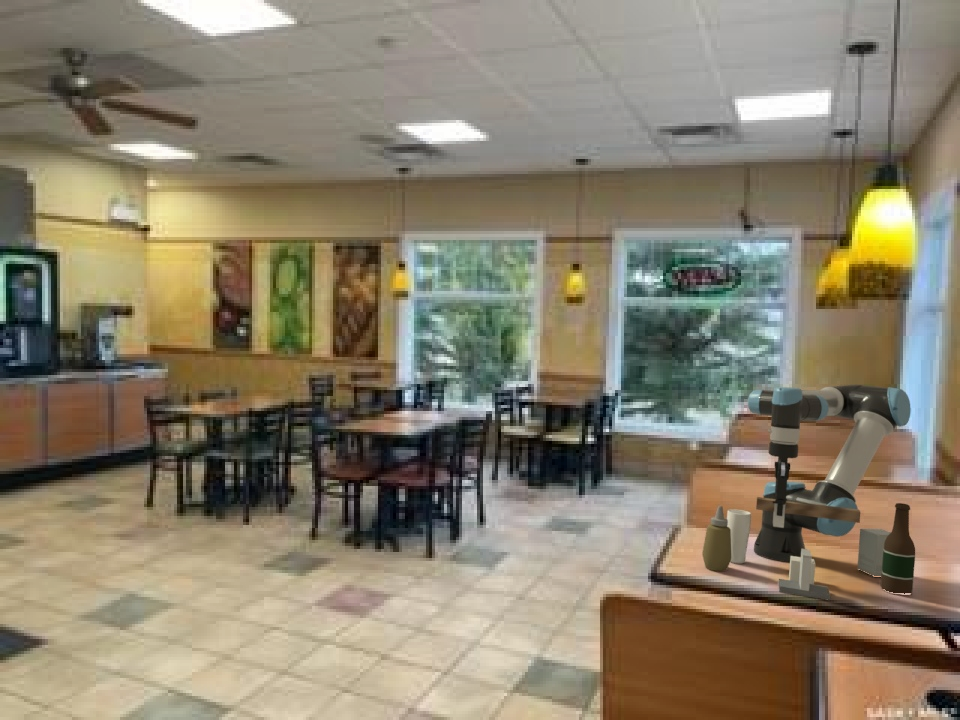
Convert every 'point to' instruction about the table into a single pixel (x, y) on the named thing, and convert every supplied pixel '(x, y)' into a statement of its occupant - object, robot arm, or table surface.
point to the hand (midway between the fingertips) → (778, 525)
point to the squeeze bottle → (717, 543)
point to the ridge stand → (804, 581)
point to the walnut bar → (812, 510)
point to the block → (795, 569)
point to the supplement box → (871, 550)
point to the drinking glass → (739, 533)
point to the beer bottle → (898, 554)
